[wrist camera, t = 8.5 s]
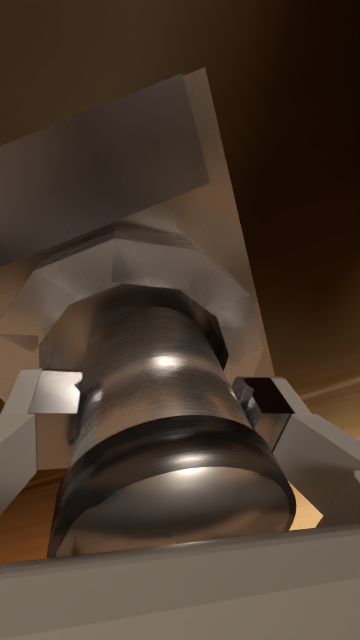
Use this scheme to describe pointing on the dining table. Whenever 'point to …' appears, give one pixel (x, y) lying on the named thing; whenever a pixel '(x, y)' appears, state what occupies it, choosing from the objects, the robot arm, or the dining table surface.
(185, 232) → the mount
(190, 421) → the knob
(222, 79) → the dining table surface
